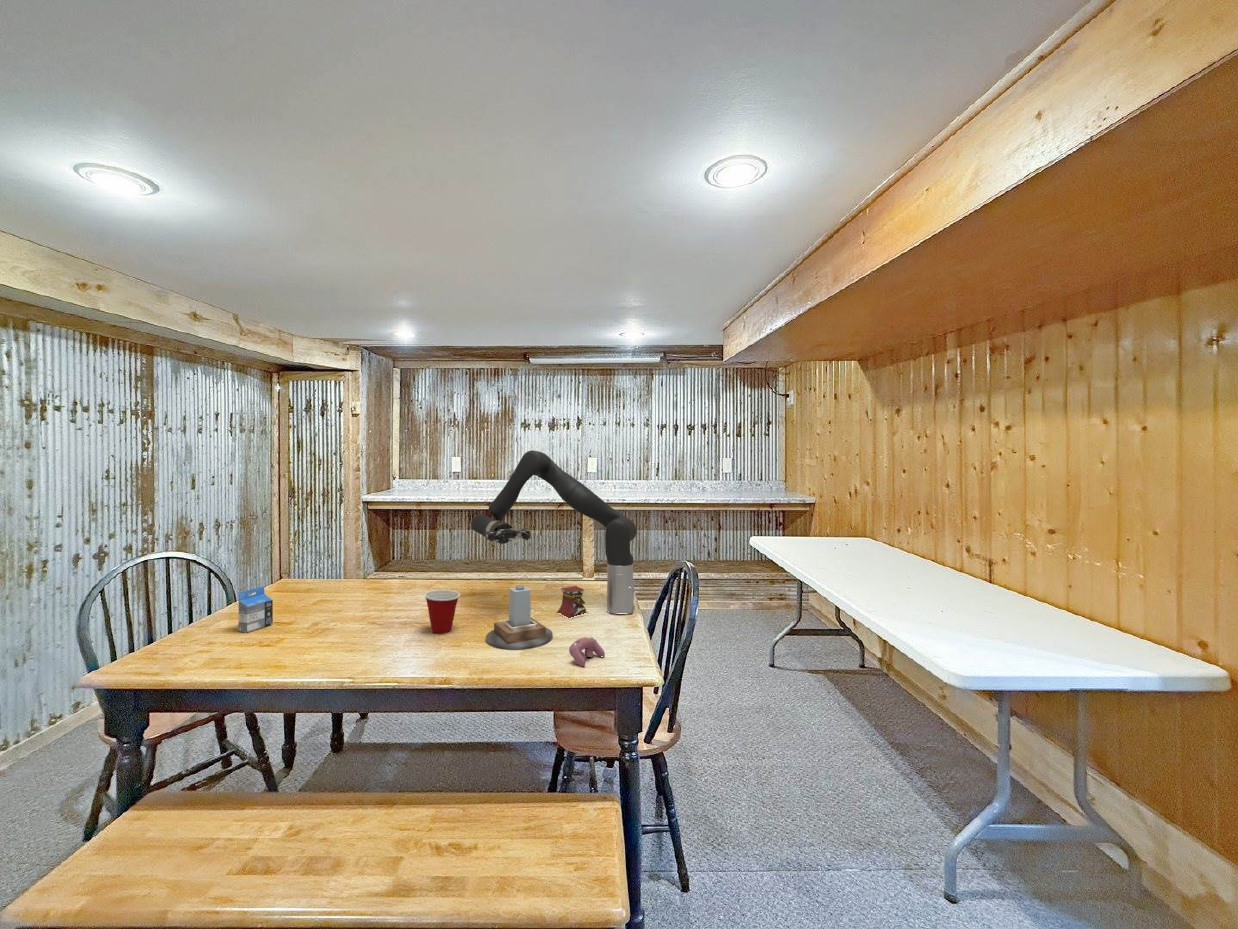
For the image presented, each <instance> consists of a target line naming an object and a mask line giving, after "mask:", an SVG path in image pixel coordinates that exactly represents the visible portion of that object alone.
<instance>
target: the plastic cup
mask: <svg viewBox="0 0 1238 929" xmlns="http://www.w3.org/2000/svg"><path fill="white" fill-rule="evenodd" d="M460 597H461V594H460V592H458V591H455V590H452V589H451V590H450V589H449V590H448V589H435V590H430V591H427V592H425V593H424V598H425V600H426V605H427V609H428V614H429V615H428V617H429V621H430V627H431V631H432V633H433V634H438V635H439V634H440V635H441V634H447V633H450V632H452V628H453V624H454V618H455V614H456V613H455V612H456V608H457V604H458V600H459V598H460Z"/></svg>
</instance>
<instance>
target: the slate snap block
mask: <svg viewBox="0 0 1238 929" xmlns="http://www.w3.org/2000/svg"><path fill="white" fill-rule="evenodd" d="M508 589H509V591H508V604H509V605H508V615H509V616H508V620H509V624H510V625H511V626H512V627H518V626H524V625H530V624H531V618H532V617H531V614H532V611H531V610H532V609H531V607H532V606H531V604H532V602H531V599H532V598H531V597H532V595H531V592H532V590H531V589H530V588H528V587H527V586H524V585H516V586H515V587H510V588H508Z"/></svg>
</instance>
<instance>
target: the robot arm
mask: <svg viewBox="0 0 1238 929" xmlns="http://www.w3.org/2000/svg"><path fill="white" fill-rule="evenodd" d="M533 476H536V477H538V478H540V479H542V480H543V481H544V482H546V483H547V484H549V485H550V486H551V487H552V488H553V489H554V490H555V492H556V493H557V495H558V496H559V497H560V498H561V499H562V500H563V501H564V503H566V504H567V505H568V506H569V507H571V508H572V509H573V510H575V511H576V512H578V513H580V514H581V515H583V516H585V517H588V518H589V519H592V520H594V521H596V522H598V523H599V524H601V525H602V526H603V527H605V533H604V538H605V539H604V543H605V544H604V545H605V546H604V547H605V548H604V549H605V555H606V559H607V565H606V566H607V572H606V573H607V575H606V580H607V581H606V583H607V584H606V611H607V610H608V611H609V612H611V613H632V614H633V612H634V610H633V609H634V608H635V605H634V604H635V603H634V602H635V584H634V555H633V554H632V553H631V541H633V540H634V539H635V538H636V536H637V530H638V529H637V527H636V524H635V522H633V521H632V520H631V518H629V517H627V516H626V515H623V513H620V512H619V511H617V510H616V509H614V508H613V507H611V506H610V505H609V504H608V503H606V501H604V500H603V499H602V498H601V497H600V496H598V495H597V494H595V493H594V492H593V491H592V490H591V489H590V488H588V487H587V486H586V485H584V484H583V483H581V481H579V480H578V479H576V478H575V477H573V476H572V475H571V474H569V473H567V472H566V471H564V470H563V469H562V468H560V466H559V465H557V463H556V462H554V460H552V458H550V456H549V455H547V454H546V453H545V452H541V451H538V450H532V449H531V450H528V451H526V452H525V453H524V454H523V455H522V457H521V458H520V459H519V461H518V463H517V466H516V467H515V469H514V470H513V472H512V473H511V476H510V477H509V479H508V480H507V482H506V484H505V485H504V487H503V488H502V489H501V491H500V492H499V493H498V494H497V495H496V497H495V498H494V499H493V501H492V502H491V503H490V504H489V506H488V511H489V513H490V514H491V515H492V516H493V517H494V518H491V517H489V516H487V515H485V514H483V513H478V514H476V515H475V516H473V518H472V519H471V522H470V527H471V530H473V531H474V532H476V533H477V534H480V535H481V536H482V537H484V538H485V539H486V540H487V541H489V542H496V543H497V544H500V545H504V544H508V543H509V542H511V541H512V540H515V541H518V540H519V541H520V540H525V541H529V539H531V531H530V530H527V529H524V528H521V529H515V528H514V527H513V526H512V525H511V523H510V524H509V523H508V522H505V521H503V520H504V519H505V517H506V515H507V514H508V513H509V512H510V510H511V509H512V508H513V507H514V505H515V503H516V502H517V500H518V499H519V496H520V492H522V491H521V490H522V489H523V487H524V485H526V483H527V482H528V481H529V480H530V479H531V478H532V477H533ZM632 611H633V612H632ZM611 613H610V614H611Z"/></svg>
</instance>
